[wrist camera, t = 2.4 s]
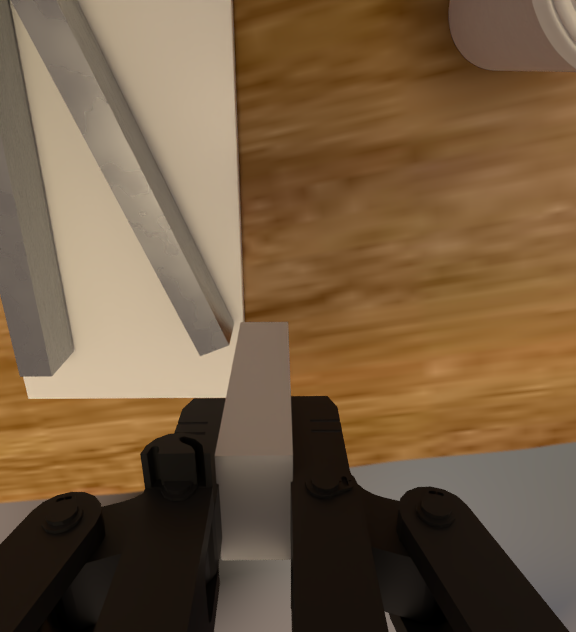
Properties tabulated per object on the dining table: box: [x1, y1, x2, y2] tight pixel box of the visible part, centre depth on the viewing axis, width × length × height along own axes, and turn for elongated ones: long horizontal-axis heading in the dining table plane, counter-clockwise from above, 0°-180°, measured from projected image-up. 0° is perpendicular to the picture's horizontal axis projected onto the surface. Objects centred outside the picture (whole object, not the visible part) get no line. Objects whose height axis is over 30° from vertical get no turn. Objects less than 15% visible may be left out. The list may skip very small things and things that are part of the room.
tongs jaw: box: [11, 0, 234, 356], centre depth 27 cm, size 24×2×4 cm, turn 22°
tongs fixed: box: [0, 0, 74, 377], centre depth 27 cm, size 28×4×4 cm, turn 0°
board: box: [8, 0, 245, 399], centre depth 30 cm, size 34×16×1 cm, turn 0°
